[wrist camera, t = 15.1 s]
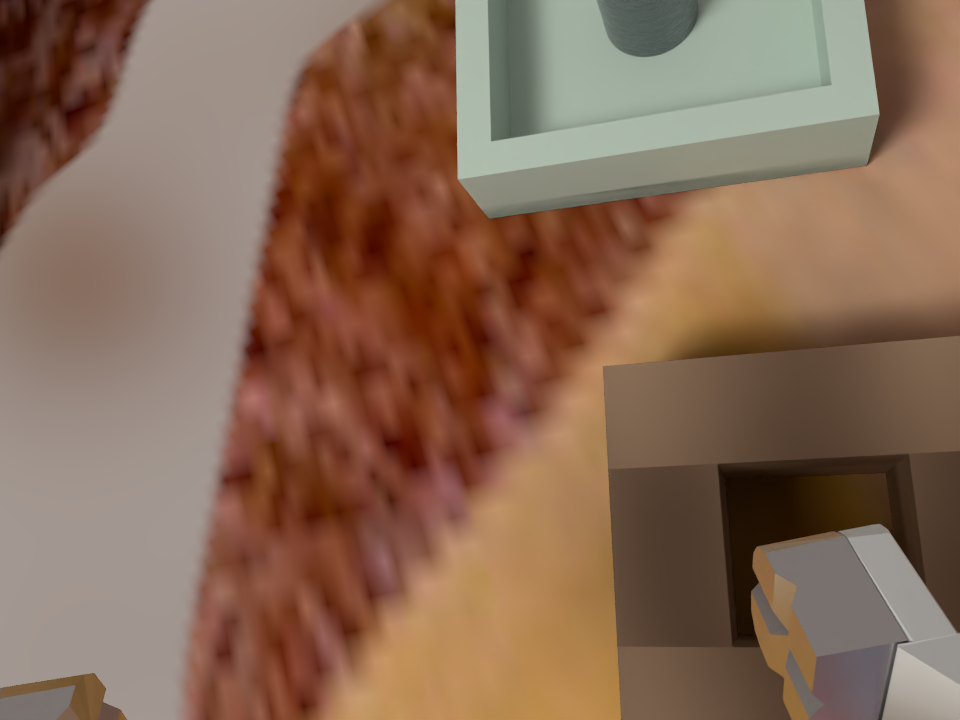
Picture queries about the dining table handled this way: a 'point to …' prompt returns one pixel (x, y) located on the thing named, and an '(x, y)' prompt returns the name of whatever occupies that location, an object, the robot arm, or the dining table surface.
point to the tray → (656, 101)
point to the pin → (648, 24)
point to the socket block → (751, 455)
